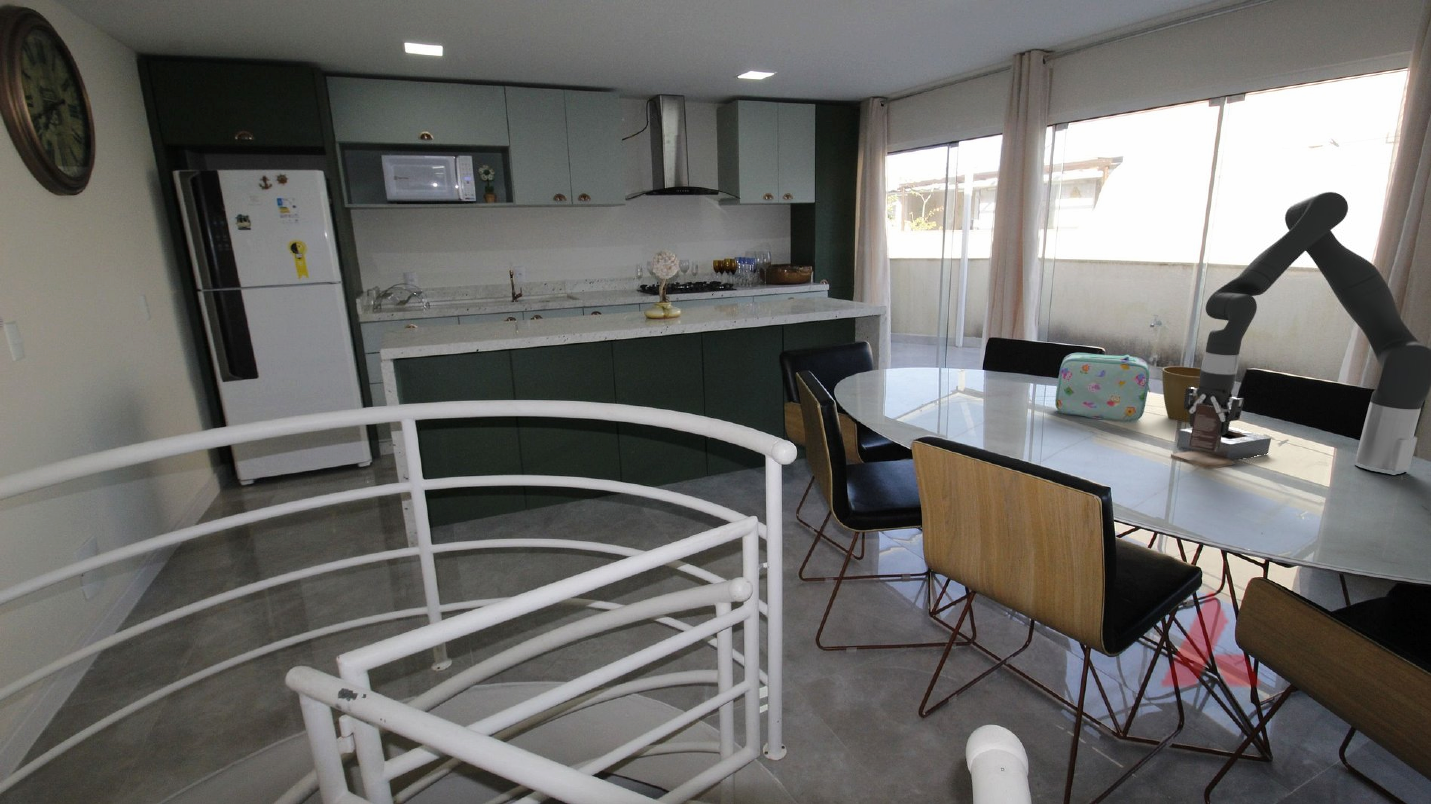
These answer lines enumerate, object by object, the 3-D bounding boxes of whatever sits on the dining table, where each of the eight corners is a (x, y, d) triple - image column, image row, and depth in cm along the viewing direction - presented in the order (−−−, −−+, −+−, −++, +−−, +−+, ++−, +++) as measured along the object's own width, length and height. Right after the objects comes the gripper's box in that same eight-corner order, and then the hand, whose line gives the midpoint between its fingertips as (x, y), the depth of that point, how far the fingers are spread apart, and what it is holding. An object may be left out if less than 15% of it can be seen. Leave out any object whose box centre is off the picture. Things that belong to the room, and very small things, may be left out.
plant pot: (1144, 416, 221) (1152, 369, 217) (1172, 410, 227) (1180, 364, 223) (1191, 428, 208) (1200, 378, 204) (1220, 422, 214) (1229, 373, 210)
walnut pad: (1233, 464, 177) (1234, 461, 177) (1206, 469, 174) (1207, 466, 174) (1197, 452, 186) (1197, 450, 186) (1170, 456, 183) (1171, 454, 183)
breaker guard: (1267, 455, 184) (1271, 437, 183) (1226, 462, 179) (1229, 443, 178) (1216, 440, 197) (1219, 423, 196) (1176, 446, 192) (1179, 428, 191)
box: (1219, 448, 179) (1228, 405, 175) (1214, 452, 176) (1223, 408, 173) (1193, 443, 183) (1201, 400, 180) (1187, 446, 181) (1195, 403, 177)
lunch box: (1145, 417, 220) (1156, 353, 214) (1146, 426, 211) (1157, 359, 205) (1055, 407, 233) (1063, 346, 227) (1052, 414, 224) (1060, 352, 219)
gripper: (1258, 374, 169) (1245, 437, 173) (1202, 363, 182) (1191, 421, 186) (1236, 377, 166) (1224, 440, 171) (1181, 365, 179) (1171, 424, 184)
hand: (1207, 430), depth 178 cm, fingers closed on box, 7 cm apart
